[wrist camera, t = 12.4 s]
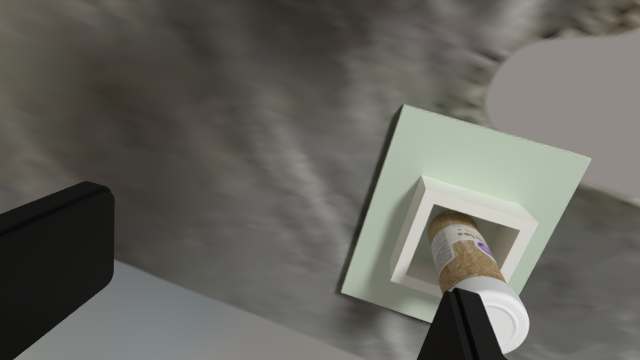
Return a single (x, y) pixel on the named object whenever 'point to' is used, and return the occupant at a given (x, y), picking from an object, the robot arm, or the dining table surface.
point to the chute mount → (456, 206)
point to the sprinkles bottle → (476, 274)
